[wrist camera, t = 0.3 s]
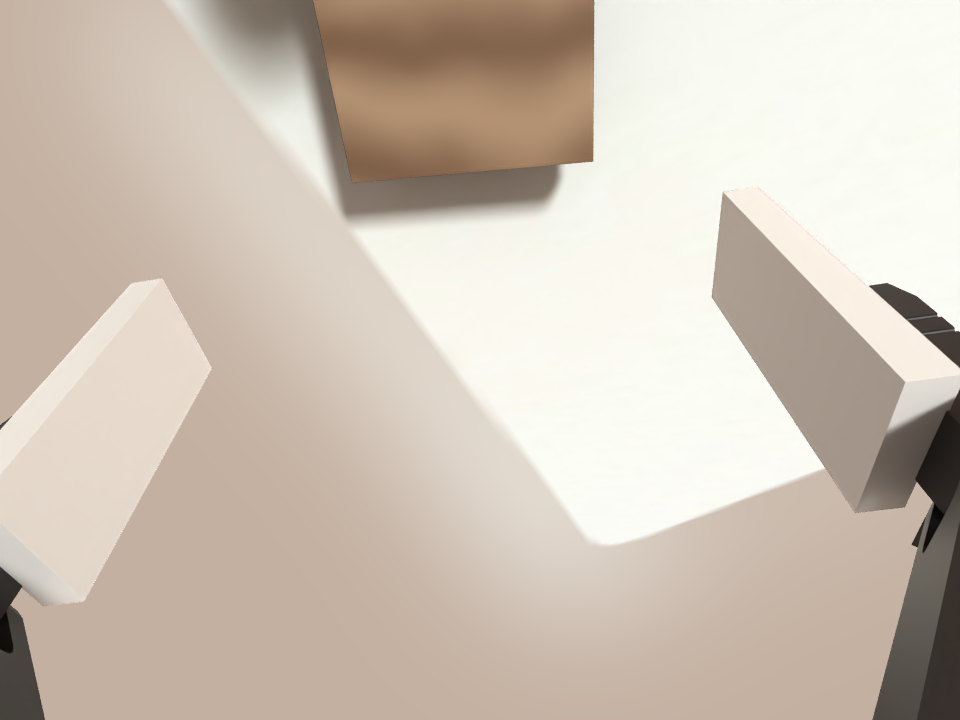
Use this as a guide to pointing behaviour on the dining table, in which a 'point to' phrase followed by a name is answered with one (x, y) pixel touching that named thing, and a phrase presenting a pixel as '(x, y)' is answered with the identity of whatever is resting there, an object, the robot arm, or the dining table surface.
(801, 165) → the dining table surface
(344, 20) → the caster dolly
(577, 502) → the dining table surface
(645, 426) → the dining table surface
